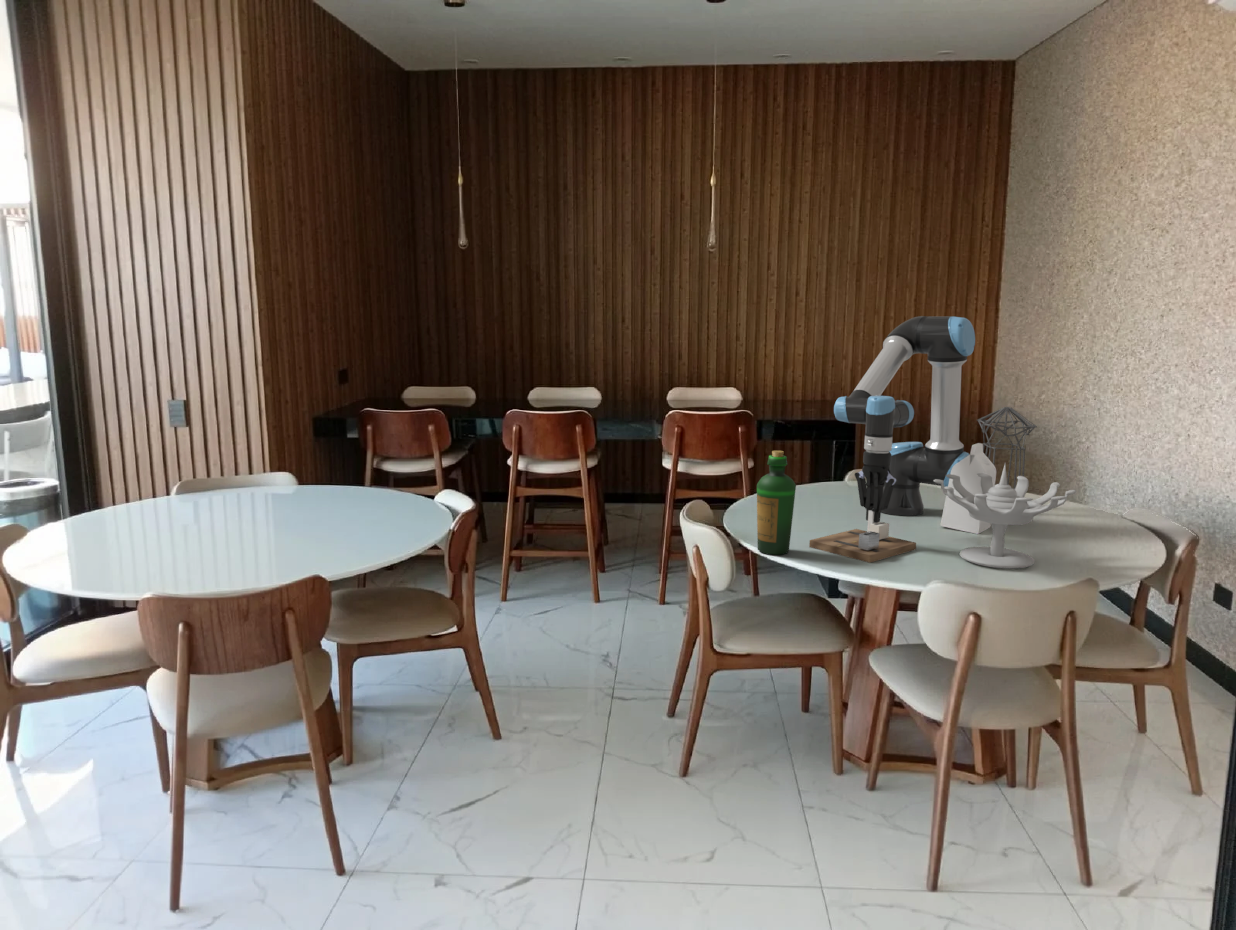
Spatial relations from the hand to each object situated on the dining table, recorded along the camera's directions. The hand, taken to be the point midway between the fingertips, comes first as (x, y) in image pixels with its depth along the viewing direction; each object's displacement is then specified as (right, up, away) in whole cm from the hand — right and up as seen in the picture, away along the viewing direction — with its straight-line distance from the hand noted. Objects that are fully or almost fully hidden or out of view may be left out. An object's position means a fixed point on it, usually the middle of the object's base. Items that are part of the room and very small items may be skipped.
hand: (872, 532), depth 261 cm
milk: (+35, 0, +23) cm, 42 cm away
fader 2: (+1, -1, -1) cm, 2 cm away
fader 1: (-5, -3, -13) cm, 14 cm away
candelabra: (+29, -7, -15) cm, 34 cm away
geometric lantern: (+57, +4, +49) cm, 75 cm away
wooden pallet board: (-4, -4, -4) cm, 7 cm away
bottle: (-30, -5, -9) cm, 31 cm away
